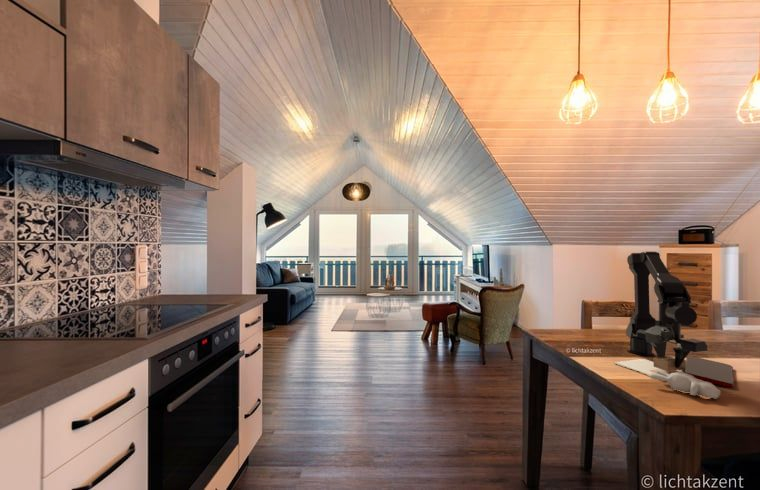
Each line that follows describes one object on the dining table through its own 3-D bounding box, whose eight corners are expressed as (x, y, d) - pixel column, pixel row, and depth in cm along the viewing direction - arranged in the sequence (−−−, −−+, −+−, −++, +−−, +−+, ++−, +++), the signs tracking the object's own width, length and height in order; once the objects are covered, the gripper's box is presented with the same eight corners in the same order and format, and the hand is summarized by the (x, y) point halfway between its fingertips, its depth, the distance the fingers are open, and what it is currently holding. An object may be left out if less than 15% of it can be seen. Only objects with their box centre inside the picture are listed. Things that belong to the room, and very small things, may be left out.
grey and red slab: (733, 364, 125) (734, 384, 107) (732, 369, 125) (733, 389, 107) (687, 354, 133) (680, 371, 115) (686, 358, 133) (680, 375, 115)
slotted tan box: (671, 364, 123) (671, 355, 123) (685, 368, 118) (685, 359, 118) (653, 366, 120) (653, 357, 120) (667, 371, 116) (667, 361, 116)
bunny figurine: (715, 390, 97) (649, 368, 109) (712, 408, 97) (647, 384, 109) (724, 382, 102) (660, 362, 114) (721, 399, 103) (658, 377, 115)
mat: (614, 364, 130) (614, 362, 130) (643, 360, 133) (643, 358, 133) (663, 381, 113) (663, 379, 113) (694, 376, 117) (694, 374, 117)
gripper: (624, 314, 126) (624, 358, 126) (682, 326, 108) (682, 378, 108) (648, 312, 129) (648, 355, 129) (708, 323, 111) (708, 374, 111)
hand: (669, 365), depth 119 cm, fingers closed on slotted tan box, 4 cm apart
